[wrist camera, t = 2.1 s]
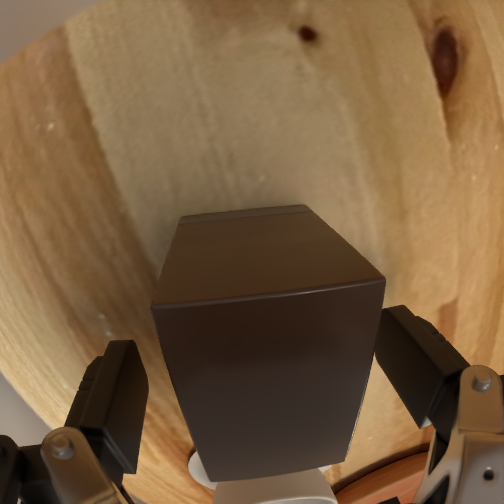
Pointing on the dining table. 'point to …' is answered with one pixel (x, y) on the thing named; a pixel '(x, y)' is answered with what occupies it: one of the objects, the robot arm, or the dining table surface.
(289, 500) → the teacup
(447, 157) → the dining table surface
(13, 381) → the dining table surface
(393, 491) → the saucer
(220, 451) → the dark brown block
